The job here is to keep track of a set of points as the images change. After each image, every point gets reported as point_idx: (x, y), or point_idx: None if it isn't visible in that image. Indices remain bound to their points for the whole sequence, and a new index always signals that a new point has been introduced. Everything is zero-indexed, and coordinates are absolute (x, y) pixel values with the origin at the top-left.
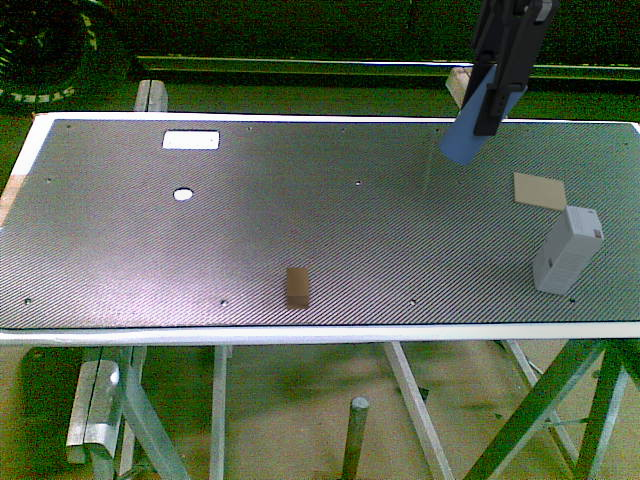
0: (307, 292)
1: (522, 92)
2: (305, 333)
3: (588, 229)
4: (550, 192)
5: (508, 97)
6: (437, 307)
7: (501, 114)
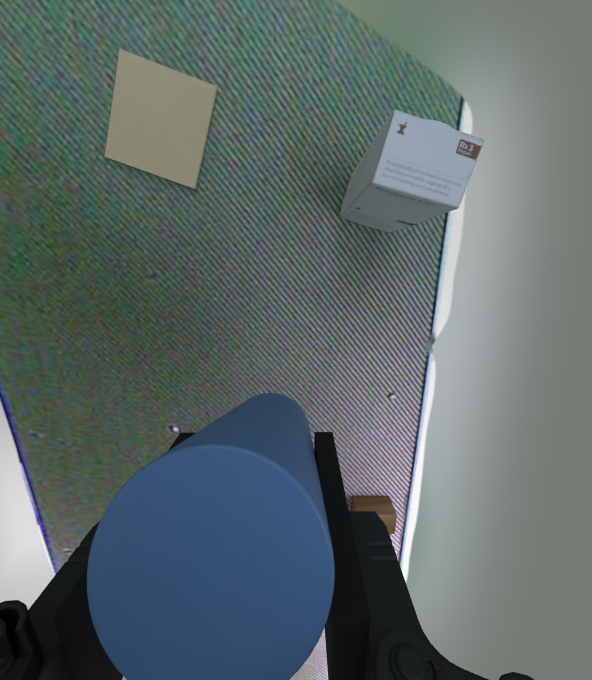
0: (392, 516)
1: (312, 490)
2: (417, 499)
3: (453, 165)
4: (162, 100)
5: (412, 606)
6: (402, 370)
7: (381, 522)
